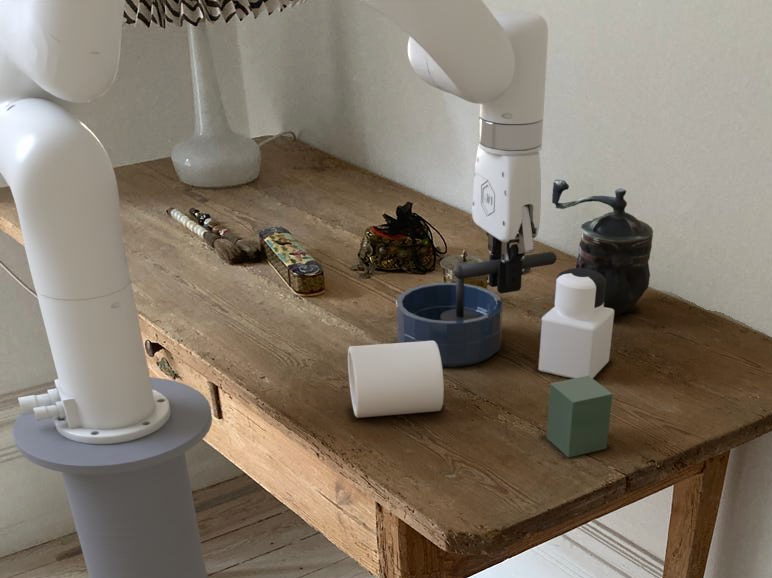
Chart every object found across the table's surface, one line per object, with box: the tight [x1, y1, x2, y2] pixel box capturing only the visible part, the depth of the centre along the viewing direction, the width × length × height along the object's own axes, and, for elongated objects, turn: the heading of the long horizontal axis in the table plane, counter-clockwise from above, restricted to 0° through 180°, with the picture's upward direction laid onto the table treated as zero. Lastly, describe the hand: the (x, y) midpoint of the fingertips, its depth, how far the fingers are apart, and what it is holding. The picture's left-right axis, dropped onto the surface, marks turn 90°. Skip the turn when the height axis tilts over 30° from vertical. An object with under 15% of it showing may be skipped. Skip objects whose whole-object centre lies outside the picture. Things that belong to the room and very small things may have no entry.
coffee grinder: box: [551, 179, 654, 319], centre depth 140 cm, size 13×15×18 cm
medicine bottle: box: [537, 267, 615, 379], centre depth 128 cm, size 7×7×12 cm
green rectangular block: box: [545, 376, 613, 458], centre depth 114 cm, size 5×5×7 cm
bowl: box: [395, 282, 504, 368], centre depth 134 cm, size 14×14×6 cm
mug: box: [347, 341, 445, 419], centre depth 120 cm, size 12×10×8 cm
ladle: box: [440, 251, 557, 321], centre depth 133 cm, size 16×5×8 cm, turn 116°
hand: (504, 287), depth 133 cm, fingers closed on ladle
